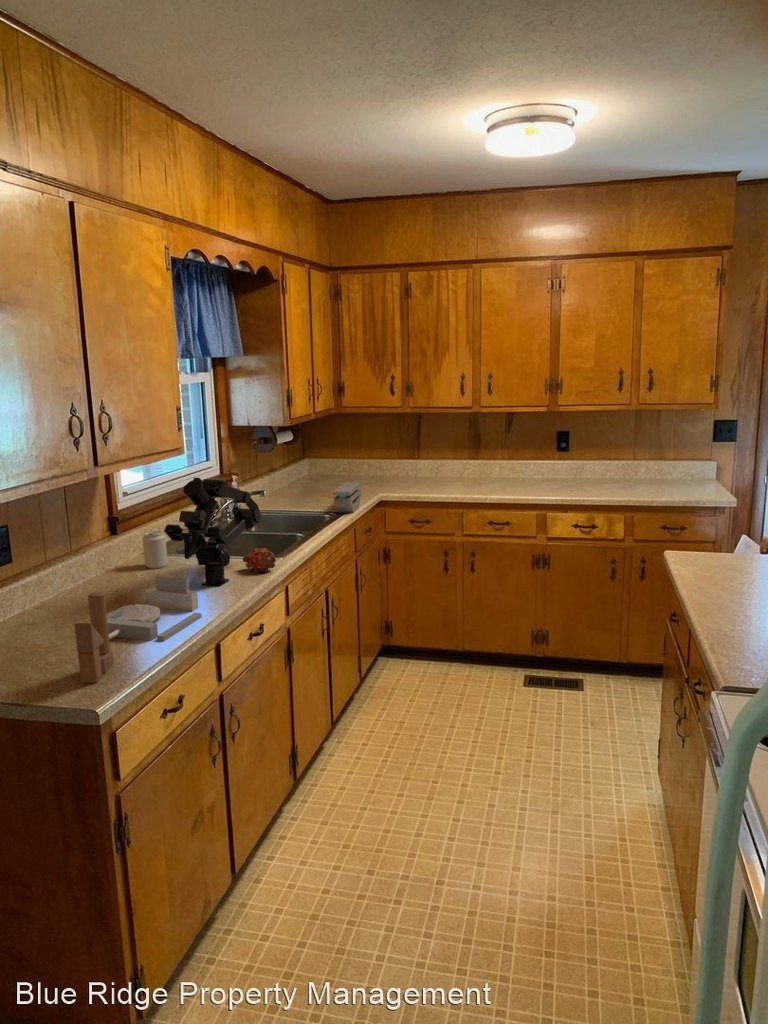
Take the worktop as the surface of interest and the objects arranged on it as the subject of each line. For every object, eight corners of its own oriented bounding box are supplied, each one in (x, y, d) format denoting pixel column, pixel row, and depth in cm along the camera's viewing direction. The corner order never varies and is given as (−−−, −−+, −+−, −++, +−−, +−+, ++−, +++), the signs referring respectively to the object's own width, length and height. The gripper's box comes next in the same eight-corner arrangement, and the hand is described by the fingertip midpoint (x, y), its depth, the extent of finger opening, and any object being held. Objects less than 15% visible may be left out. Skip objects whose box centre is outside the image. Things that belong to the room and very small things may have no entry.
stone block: (162, 621, 208) (125, 616, 207) (164, 606, 207) (127, 600, 206) (152, 639, 197) (113, 633, 196) (154, 622, 196) (115, 616, 194)
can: (149, 563, 260) (146, 530, 257) (170, 563, 260) (168, 529, 257) (141, 569, 253) (138, 535, 250) (163, 569, 252) (160, 535, 250)
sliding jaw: (153, 603, 217) (150, 574, 215) (198, 608, 213) (196, 578, 211) (147, 606, 215) (144, 577, 213) (192, 611, 210) (190, 581, 208)
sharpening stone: (350, 516, 330) (349, 492, 328) (333, 515, 331) (332, 491, 329) (361, 504, 354) (361, 482, 352) (345, 504, 356) (345, 482, 353)
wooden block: (80, 683, 165) (72, 606, 161) (98, 663, 175) (91, 591, 172) (97, 683, 165) (88, 606, 161) (114, 663, 175) (107, 591, 172)
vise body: (125, 609, 213) (123, 597, 212) (201, 617, 205) (200, 605, 205) (53, 647, 186) (51, 633, 185) (138, 657, 178) (136, 643, 178)
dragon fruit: (277, 577, 246) (246, 579, 250) (283, 557, 252) (252, 560, 256) (266, 561, 240) (234, 564, 245) (273, 541, 246) (242, 544, 250)
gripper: (164, 498, 223) (146, 542, 216) (219, 500, 218) (202, 546, 210) (181, 518, 232) (163, 561, 225) (234, 521, 227) (218, 565, 219)
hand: (186, 558), depth 219 cm, fingers closed
